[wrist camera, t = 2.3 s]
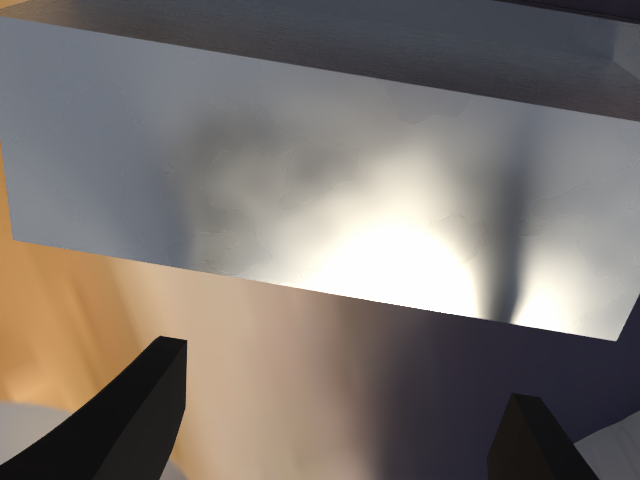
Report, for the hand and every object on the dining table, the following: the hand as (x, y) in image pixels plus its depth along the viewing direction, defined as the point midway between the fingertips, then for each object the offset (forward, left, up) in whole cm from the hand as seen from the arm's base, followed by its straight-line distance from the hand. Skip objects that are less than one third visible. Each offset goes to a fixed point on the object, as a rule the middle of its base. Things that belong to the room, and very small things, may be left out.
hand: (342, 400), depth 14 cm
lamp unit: (+1, -4, -9) cm, 10 cm away
